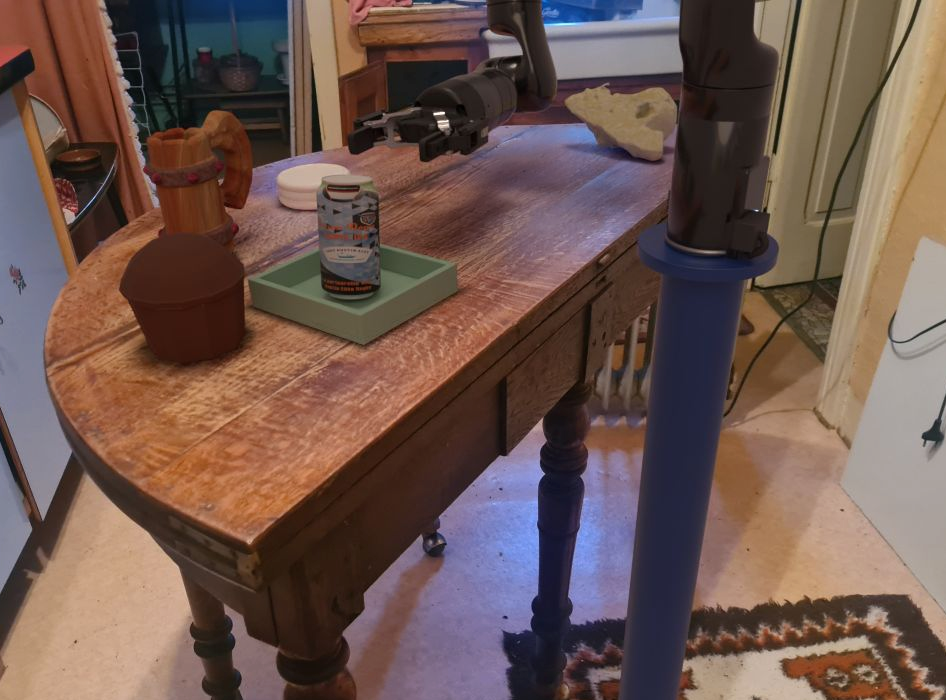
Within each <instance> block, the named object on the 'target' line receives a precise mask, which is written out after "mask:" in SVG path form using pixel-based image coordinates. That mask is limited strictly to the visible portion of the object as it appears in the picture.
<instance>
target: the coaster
mask: <svg viewBox="0 0 946 700" xmlns="http://www.w3.org/2000/svg"><path fill="white" fill-rule="evenodd" d="M330 175H352V173H351V171H350V170H349V169H348V168H346V167H345V166H343V165H339V164H334V163H307V164H301V165H295V166H292V167H289V168H287V169H284V170H282V171H281V172H279V173H278V175H277V176H276V178H275V179H276V180H275V182H276V184H277V192H278V200H279V202H280V203H281V204H282V205H283V206H284V207H287V208H289V209H293V210H301V211H302V210H303V211H313V210H315V211H317V196H316V194H317V190H318V188H319V186H320V185H321V183H322V178H323V177H325V176H330Z"/></svg>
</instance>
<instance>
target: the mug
mask: <svg viewBox="0 0 946 700" xmlns="http://www.w3.org/2000/svg"><path fill="white" fill-rule="evenodd" d="M146 147H147V151H148V156H149V162H148V163H146V164H145V165H144V166H143V168H142V172H143V173H144V174H145V175H146V176H148V178H149V180H150V182H151V183H152V184H154V185H155V189H156V194H157V199H158V203H159V206H160V211H161V215H162V218H163V223H164V226H163V227H162V228H160V229H158V231H157V236H158V237H161V236H163V235H168V234H174V233H194V234H199V235H202V236H205V237H208V238H210V239H212V240H214V241H216V242H218V243H219V244H221V245H223V246H224V247H225V248H227V249H228V250H229V251H230V252H231V253H232V254H233V252H234V249H235V244H234V238H235V237H236V235H237V234H238V233H239V231H240V226H239V224H238V223H236V222H234V219H233V216H232V215H231V214H230V213H228V212H227V210H226V208H228V209H234V210H238V211H239V210H243V209H244V208H245V205H246V203H247V200H248V197H249V195H250V189H251V186H252V184H253V175H254V173H253V172H254V171H253V170H254V169H253V154H252V146H251V142H250V139H249V136H248V135H247V132H246V130H245V128H244V126H243V125H242V123H241V121H240V120H239V119H238V118H237V117H236V116H235V115H234V114H233V113H232V112H230V111H227V110H219V109H218V110H217V109H216V110H211V111H210V112H209V113H208V114H207V115H206V117H205V120H204V122H203V124H202V126H201V127H188V128H187V129H184V128H183V127H173V128H168V129H167V130H166V131H165V132H163V131H156V132H154V133H153V134H152V135H149V137H148V136H147V137H146ZM213 148H215V149H217V150H220V151H221V152H224V161H225V163H224V162H223V161H222V160H220V159H219V156H218V155H217V154H216V153H215V152H214V151H212V150H213ZM224 169H225V171H224V178H223V180H222V183H221V184H220V182H219V179H218V176H219V175H220V173H221V172H223V170H224Z"/></svg>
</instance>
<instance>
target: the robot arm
mask: <svg viewBox="0 0 946 700" xmlns="http://www.w3.org/2000/svg"><path fill="white" fill-rule="evenodd" d="M542 1H543V0H485V4H486V5H485V6H486V21H487V22H486V23H487V27H488V29H489V31H490V32H491V33H492V34H495V35H498V36H503V37H511V38H514V39H515V40H517V42H518V44H519V46H520V48H521V52H522V54H517V55H516V54H515V55H505V56H504V55H503V56H495V57H491V58H487V59H485V60H483V61H481V62H480V63H479V64H478V65H477V67H476V68H475V69H474V71H472V72H469V73H467V74H460V75H456V76H454V77H451V78H449V79H446V80H444V81H442V82H439V83H437V84H434V85H432V86H430V87H427V88H426V89H424V90H423V91H422V92H420V94H419V95H418V96H417V98H416V100H415V102H414V104H413V107H409V108H407V109H406V110H405V111H399V112H391V113H390V110H389V109H386V108H382V109H381V108H380V110H376V111H374V112H371V113H369V114H366V115H363V116H361V117H358V118H355V119H353V120H352V125H353V130H352V131H351V132H349V133H348V134H347V135H346V139H347V140H346V141H347V149H348V151H349V154H350V155H352V156H359V155H361V154H363V153H365V152H367V151H369V150H371V149H373V148H376V147H377V148H378V147H383V146H386V147H388V148H389V149H391V150H394V149H400V148H407V147H413V148H418V154H419V155H418V156H419V160H420V162H421V163H430V162H432V161H434V160H435V159H437V158H439V157H441V156H452V155H454V154H458V153H459V155H462V156H468V155H472V154H473V153H474V152H476V151H478V150H479V149H480V148H482V147H483V146H484V145H486V144H488V143H489V133H491V132H492V131H494V130H497V128H499V127H501V126H502V125H504V124H506V122H508V121H509V120H510V119H511V118H512V117H513V115H516V114H517V115H519V114H537V113H541V112H545V111H547V110H548V109H549V108H550V107H551V106H552V104H553V102H554V101H555V98H556V97H557V92H558V75H557V71H556V66H555V63H554V60H553V55H552V52H551V49H550V46H549V42H548V37H547V34H546V28H545V23H544V17H543V4H542ZM768 1H770V0H679V17H678V47H679V48H678V49H679V52H680V57H681V61H682V73H681V86H680V94H679V104H678V112H677V122H676V133H675V142H674V143H675V144H674V154H673V162H672V171H671V173H672V174H671V180H670V189H668V191H667V192H668V193H667V202H668V211H667V219H666V222H667V226H666V228H667V230H666V232H665V243H666V245H667V246H668V247H669V248H671V249H673V250H675V251H677V252H679V253H682V254H686V255H690V256H695V257H703V258H730V259H737V258H738V257H739V256H741V255H742V254H743V253H744V252H746V256H747V258H749V259H751V258H754V257H757V256H760V255H762V254H763V253H765V252H766V250H767V249H768V247H769V239H768V237H767V233H768V232H769V225H770V219H771V213H769V212H765V211H763V206H764V200H765V194H766V186H767V181H768V175H769V169H770V164H771V157H770V156H769V155H767V154H765V153H766V148H767V147H766V146H767V141H768V134H769V128H770V121H771V115H772V110H773V103H774V98H775V90H776V84H777V78H778V73H779V65H780V53H779V51H778V50H777V49H776V48H775V47H774V46H773V45H770V44H768V43H765V42H763V41H761V40H760V39H759V38H758V37H757V35H756V32H755V12H756V3H757V4H758V3H763V2H768ZM395 129H396V130H397V133H398V136H399V138H400V139H397V140H396V139H395V131H394V130H395ZM758 246H759V247H758ZM757 247H758V248H757Z"/></svg>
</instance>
